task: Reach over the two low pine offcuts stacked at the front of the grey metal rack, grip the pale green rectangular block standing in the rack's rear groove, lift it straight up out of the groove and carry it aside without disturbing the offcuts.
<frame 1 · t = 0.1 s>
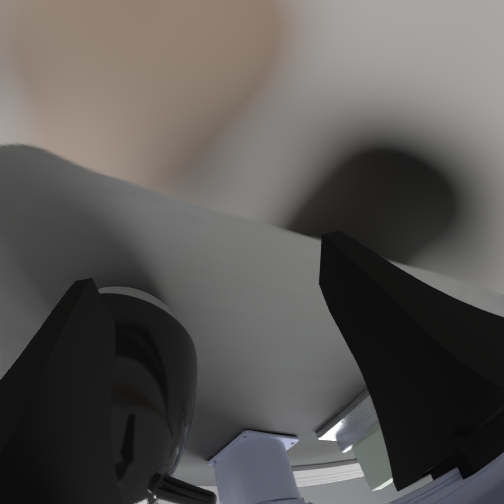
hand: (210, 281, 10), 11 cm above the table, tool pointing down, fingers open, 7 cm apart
rack: (377, 417, 36), on the table
pale green rectangular block: (370, 422, 34), point 1 cm above the table, touching rack
black egg shaped speaker: (130, 321, 22), on the table
white board: (334, 469, 44), on the table
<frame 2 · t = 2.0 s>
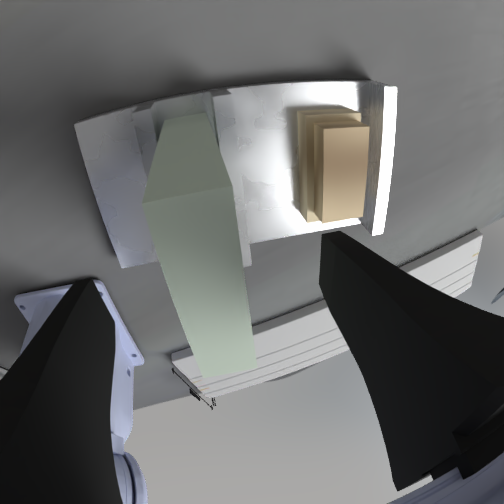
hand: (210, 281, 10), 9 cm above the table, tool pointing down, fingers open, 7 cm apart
rack: (240, 166, 17), on the table
offcut upper: (335, 167, 16), point 2 cm above the table, touching offcut lower
pale green rectangular block: (196, 181, 16), point 1 cm above the table, touching rack
white board: (344, 320, 28), on the table
offcut lower: (324, 161, 17), point 1 cm above the table, touching offcut upper, rack
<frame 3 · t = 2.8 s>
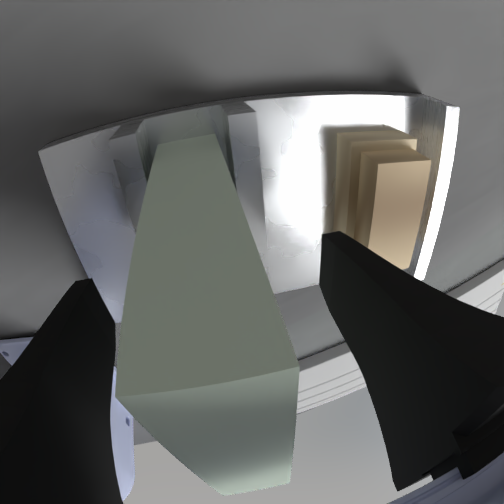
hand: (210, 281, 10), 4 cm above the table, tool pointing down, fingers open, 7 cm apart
rack: (259, 201, 13), on the table
offcut upper: (381, 208, 12), point 2 cm above the table, touching offcut lower
pale green rectangular block: (202, 224, 12), point 1 cm above the table, touching rack
white board: (364, 357, 25), on the table
offcut lower: (365, 197, 13), point 1 cm above the table, touching offcut upper, rack
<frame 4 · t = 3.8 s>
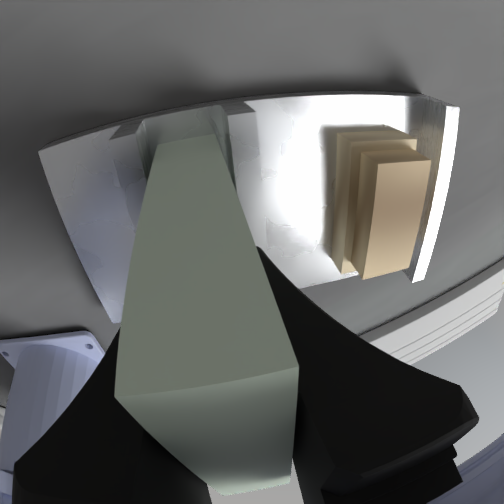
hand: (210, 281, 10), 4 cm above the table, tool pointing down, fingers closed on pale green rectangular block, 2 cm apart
rack: (259, 201, 13), on the table
offcut upper: (381, 208, 12), point 2 cm above the table, touching offcut lower
pale green rectangular block: (202, 224, 12), point 1 cm above the table, touching gripper, rack
white board: (365, 356, 25), on the table
offcut lower: (365, 197, 13), point 1 cm above the table, touching offcut upper, rack
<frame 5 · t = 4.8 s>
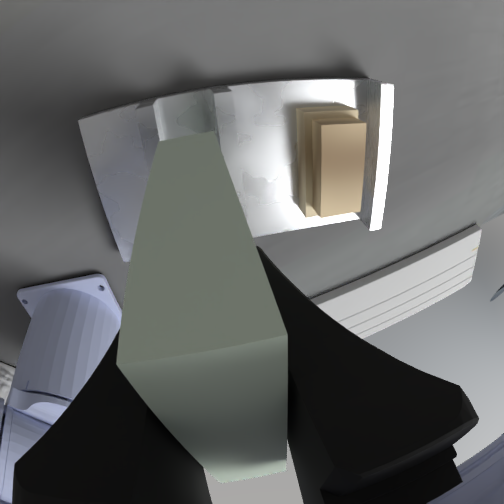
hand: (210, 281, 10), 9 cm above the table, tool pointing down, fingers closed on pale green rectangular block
rabbit: (24, 382, 26), on the table
rack: (241, 162, 17), on the table
offcut upper: (333, 163, 16), point 2 cm above the table, touching offcut lower
pale green rectangular block: (201, 219, 13), point 6 cm above the table, touching gripper
white board: (344, 315, 29), on the table
offcut lower: (323, 157, 17), point 1 cm above the table, touching offcut upper, rack
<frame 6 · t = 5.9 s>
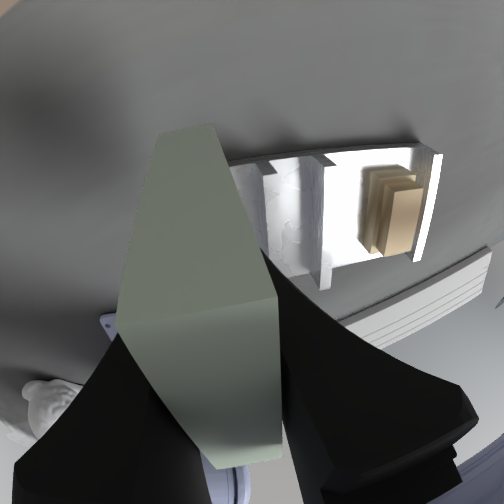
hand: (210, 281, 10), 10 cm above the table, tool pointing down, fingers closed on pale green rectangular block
rabbit: (80, 396, 30), on the table
rack: (322, 210, 21), on the table
offcut upper: (394, 214, 20), point 2 cm above the table, touching offcut lower
pale green rectangular block: (200, 210, 13), point 6 cm above the table, touching gripper
white board: (380, 324, 33), on the table
offcut lower: (384, 208, 21), point 1 cm above the table, touching offcut upper, rack
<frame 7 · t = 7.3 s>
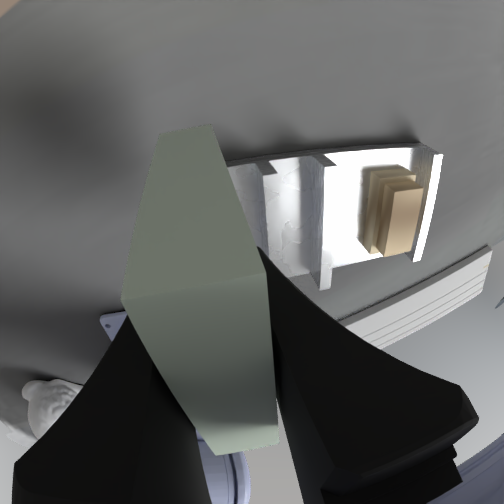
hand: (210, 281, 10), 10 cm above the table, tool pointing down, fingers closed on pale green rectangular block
rabbit: (80, 396, 30), on the table
rack: (322, 210, 21), on the table
offcut upper: (394, 214, 20), point 2 cm above the table, touching offcut lower
pale green rectangular block: (199, 207, 13), point 6 cm above the table, touching gripper
white board: (380, 324, 33), on the table
offcut lower: (384, 208, 21), point 1 cm above the table, touching offcut upper, rack
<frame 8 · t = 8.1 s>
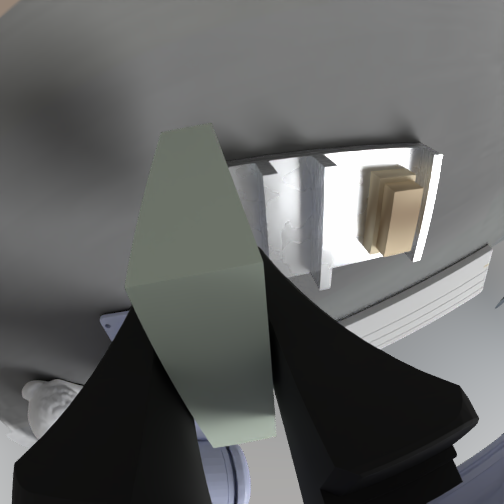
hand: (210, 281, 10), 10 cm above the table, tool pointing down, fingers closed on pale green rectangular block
rabbit: (80, 396, 30), on the table
rack: (322, 210, 21), on the table
offcut upper: (394, 214, 20), point 2 cm above the table, touching offcut lower
pale green rectangular block: (199, 204, 14), point 5 cm above the table, touching gripper
white board: (381, 323, 33), on the table
offcut lower: (384, 208, 21), point 1 cm above the table, touching offcut upper, rack
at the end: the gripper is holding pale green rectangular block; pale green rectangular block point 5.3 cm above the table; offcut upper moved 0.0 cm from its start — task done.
